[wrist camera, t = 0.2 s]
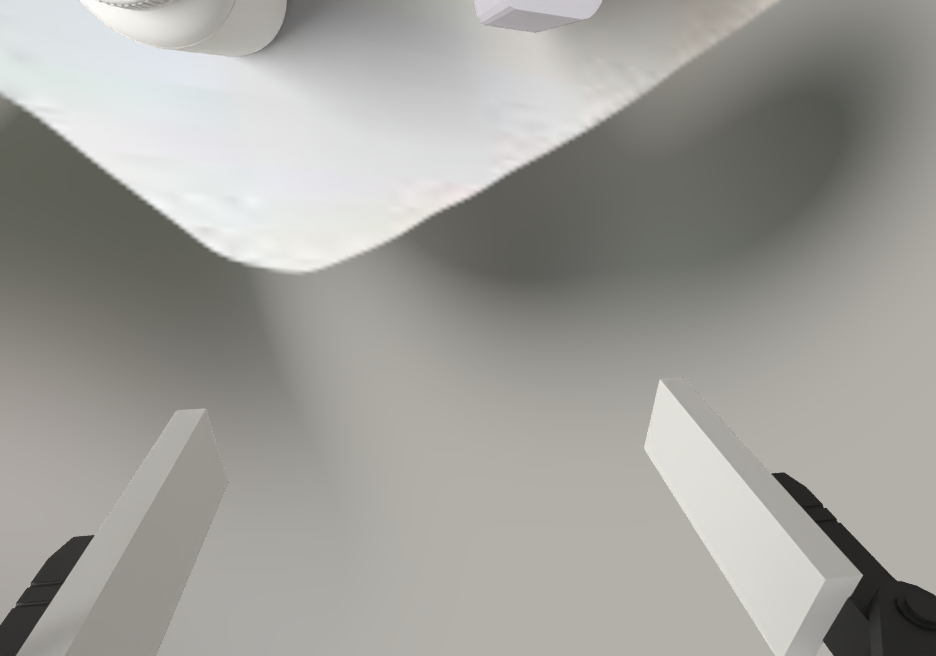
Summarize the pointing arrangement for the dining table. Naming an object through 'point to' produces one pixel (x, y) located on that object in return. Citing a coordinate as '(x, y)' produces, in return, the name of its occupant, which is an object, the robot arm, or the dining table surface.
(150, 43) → the pill bottle
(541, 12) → the charger
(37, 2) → the dining table surface
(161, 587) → the robot arm
